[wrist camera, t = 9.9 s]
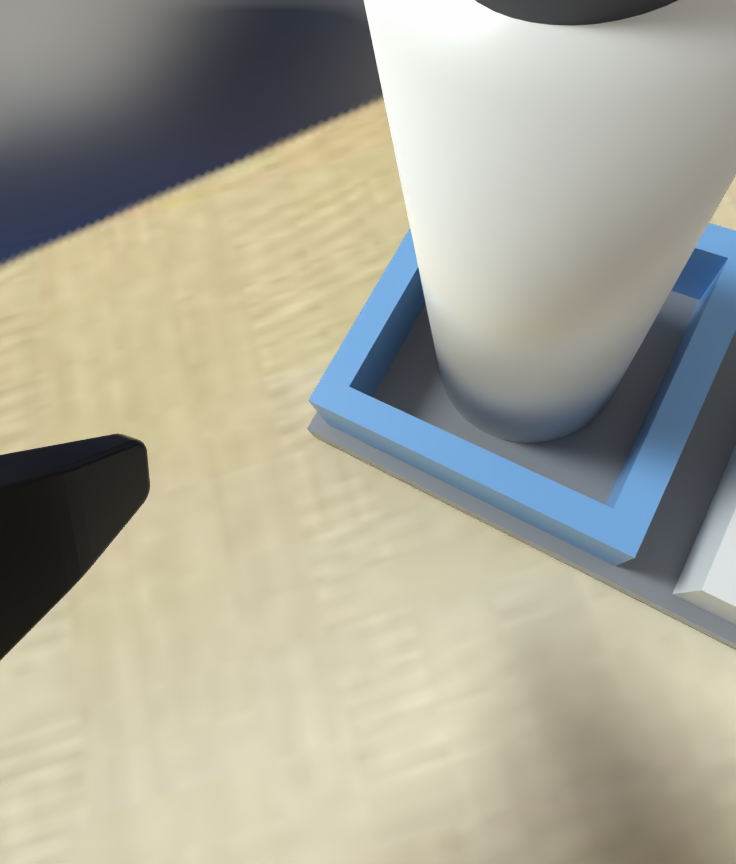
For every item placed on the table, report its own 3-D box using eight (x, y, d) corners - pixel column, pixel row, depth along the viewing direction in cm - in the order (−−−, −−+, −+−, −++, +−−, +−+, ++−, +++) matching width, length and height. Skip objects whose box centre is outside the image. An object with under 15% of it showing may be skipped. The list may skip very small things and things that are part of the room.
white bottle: (560, 477, 15) (841, -66, 3) (406, 387, 17) (195, -198, 5) (654, 328, 16) (1182, -587, 4) (497, 256, 18) (516, -543, 5)
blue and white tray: (1204, 441, 14) (1377, 399, 11) (1104, 835, 12) (1280, 897, 9) (452, 199, 20) (447, 134, 17) (314, 436, 18) (285, 405, 15)
